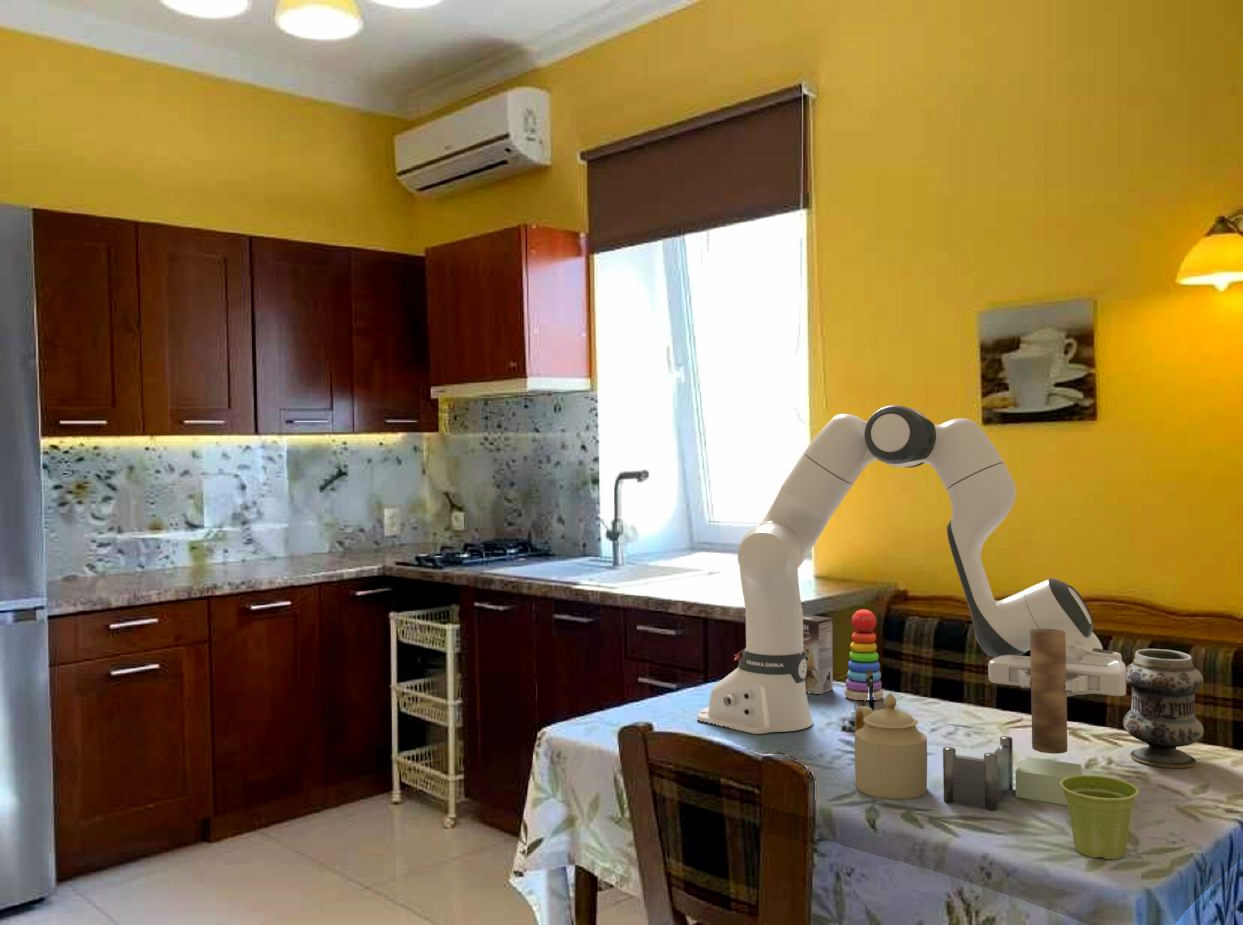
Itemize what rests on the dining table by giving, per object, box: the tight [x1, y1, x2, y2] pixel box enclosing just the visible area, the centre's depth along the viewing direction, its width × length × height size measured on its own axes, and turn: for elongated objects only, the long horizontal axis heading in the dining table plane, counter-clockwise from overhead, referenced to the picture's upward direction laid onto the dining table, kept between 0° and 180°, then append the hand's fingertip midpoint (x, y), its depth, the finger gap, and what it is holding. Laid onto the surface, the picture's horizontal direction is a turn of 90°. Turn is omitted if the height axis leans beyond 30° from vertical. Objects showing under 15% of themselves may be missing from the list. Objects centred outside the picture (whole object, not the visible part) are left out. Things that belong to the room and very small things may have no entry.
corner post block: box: [942, 735, 1014, 812], centre depth 158 cm, size 8×12×8 cm, turn 147°
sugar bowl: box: [854, 692, 928, 800], centre depth 163 cm, size 15×11×15 cm
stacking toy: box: [844, 609, 884, 702], centre depth 218 cm, size 8×8×19 cm
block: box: [1015, 756, 1083, 806], centre depth 158 cm, size 8×8×4 cm
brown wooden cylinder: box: [1030, 629, 1068, 755], centre depth 157 cm, size 5×5×18 cm
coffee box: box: [803, 613, 834, 695], centre depth 226 cm, size 9×6×16 cm
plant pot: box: [1060, 774, 1140, 860], centre depth 135 cm, size 9×9×9 cm
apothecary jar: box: [1122, 648, 1205, 769], centre depth 173 cm, size 12×12×18 cm
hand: (1047, 685), depth 157 cm, fingers closed on brown wooden cylinder, 5 cm apart
